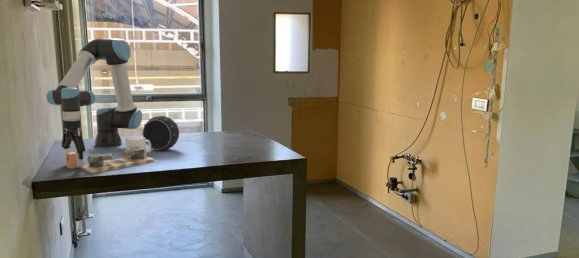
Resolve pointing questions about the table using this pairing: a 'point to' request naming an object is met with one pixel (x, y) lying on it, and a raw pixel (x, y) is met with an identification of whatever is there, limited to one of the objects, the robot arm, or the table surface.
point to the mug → (138, 144)
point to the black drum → (161, 132)
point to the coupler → (71, 159)
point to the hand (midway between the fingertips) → (74, 163)
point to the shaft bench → (116, 161)
